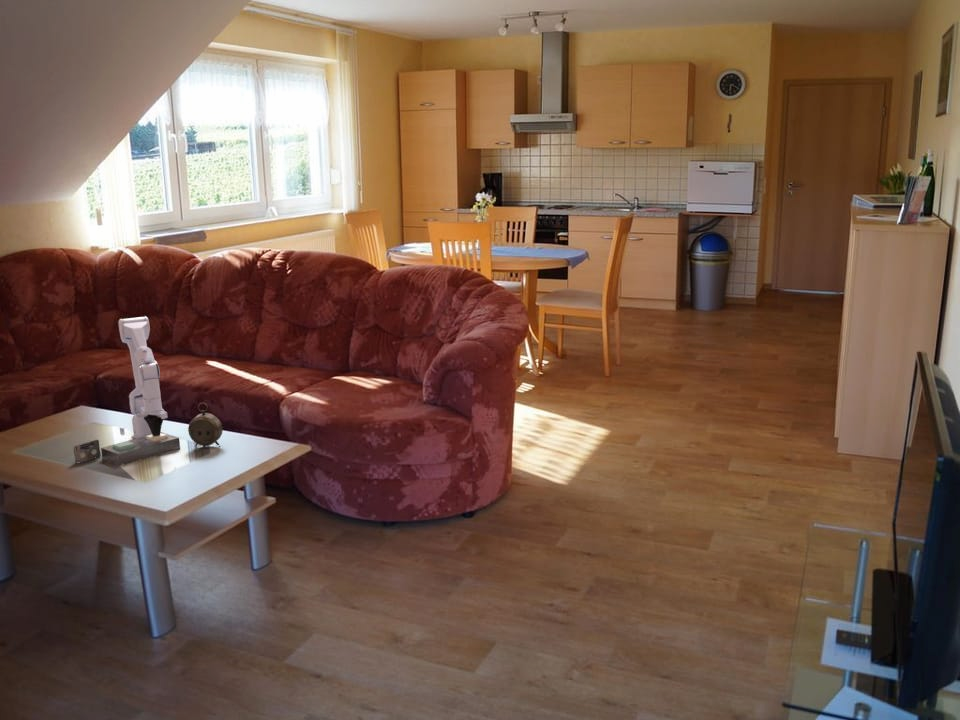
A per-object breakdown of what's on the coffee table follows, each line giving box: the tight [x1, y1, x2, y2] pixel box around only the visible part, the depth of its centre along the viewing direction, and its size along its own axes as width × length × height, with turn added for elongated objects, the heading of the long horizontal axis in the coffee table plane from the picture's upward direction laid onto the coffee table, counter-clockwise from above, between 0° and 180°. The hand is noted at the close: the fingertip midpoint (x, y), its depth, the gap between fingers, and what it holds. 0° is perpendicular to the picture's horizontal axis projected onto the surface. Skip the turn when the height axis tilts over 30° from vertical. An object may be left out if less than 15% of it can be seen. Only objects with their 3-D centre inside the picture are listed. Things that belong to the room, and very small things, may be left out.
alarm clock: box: [187, 402, 223, 450], centre depth 299 cm, size 11×5×16 cm, turn 84°
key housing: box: [100, 431, 181, 467], centre depth 296 cm, size 12×22×4 cm, turn 140°
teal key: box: [112, 440, 135, 451], centre depth 292 cm, size 5×5×4 cm
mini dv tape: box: [73, 439, 102, 463], centre depth 292 cm, size 8×2×6 cm, turn 144°
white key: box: [146, 432, 167, 442], centre depth 301 cm, size 5×5×4 cm
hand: (156, 435), depth 300 cm, fingers closed, pressing on white key
